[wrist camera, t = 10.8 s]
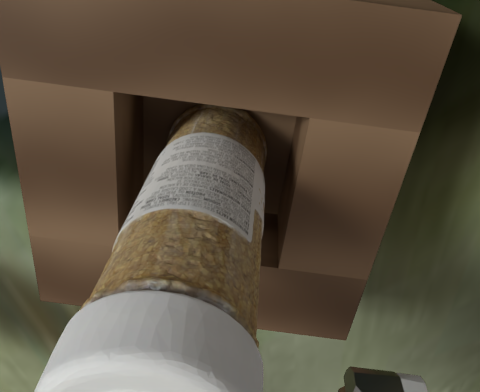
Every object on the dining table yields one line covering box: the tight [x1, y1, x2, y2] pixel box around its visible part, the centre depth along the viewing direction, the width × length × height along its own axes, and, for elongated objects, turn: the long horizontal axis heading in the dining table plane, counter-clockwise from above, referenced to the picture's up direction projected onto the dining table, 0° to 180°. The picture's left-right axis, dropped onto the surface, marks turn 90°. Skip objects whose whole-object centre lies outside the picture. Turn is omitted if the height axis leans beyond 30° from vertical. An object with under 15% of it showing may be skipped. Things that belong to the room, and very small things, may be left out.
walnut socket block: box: [0, 0, 462, 340], centre depth 19 cm, size 14×14×5 cm
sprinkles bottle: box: [34, 104, 267, 392], centre depth 14 cm, size 5×5×14 cm
